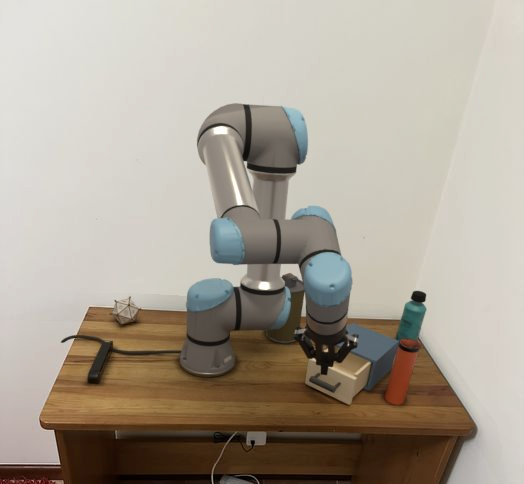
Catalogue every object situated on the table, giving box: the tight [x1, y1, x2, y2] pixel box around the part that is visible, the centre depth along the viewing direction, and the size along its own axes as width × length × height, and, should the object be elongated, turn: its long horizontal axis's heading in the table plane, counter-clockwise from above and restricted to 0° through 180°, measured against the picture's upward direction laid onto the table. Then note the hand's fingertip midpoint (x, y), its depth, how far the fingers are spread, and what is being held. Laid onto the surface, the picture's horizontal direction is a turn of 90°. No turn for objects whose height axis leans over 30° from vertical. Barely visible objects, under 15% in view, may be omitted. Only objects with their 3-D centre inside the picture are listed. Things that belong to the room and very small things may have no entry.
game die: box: [108, 295, 142, 328], centre depth 148 cm, size 9×8×10 cm
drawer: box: [304, 347, 373, 406], centre depth 127 cm, size 18×13×8 cm
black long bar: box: [87, 339, 114, 384], centre depth 129 cm, size 18×3×3 cm, turn 2°
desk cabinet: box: [325, 322, 399, 392], centre depth 137 cm, size 15×15×10 cm
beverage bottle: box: [394, 290, 428, 349], centre depth 145 cm, size 6×7×20 cm
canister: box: [265, 272, 305, 344], centre depth 147 cm, size 11×10×20 cm
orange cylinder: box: [384, 338, 422, 406], centre depth 124 cm, size 5×5×17 cm
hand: (324, 369), depth 111 cm, fingers closed
